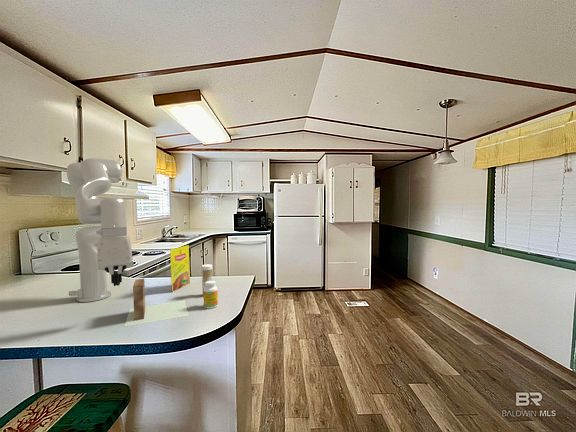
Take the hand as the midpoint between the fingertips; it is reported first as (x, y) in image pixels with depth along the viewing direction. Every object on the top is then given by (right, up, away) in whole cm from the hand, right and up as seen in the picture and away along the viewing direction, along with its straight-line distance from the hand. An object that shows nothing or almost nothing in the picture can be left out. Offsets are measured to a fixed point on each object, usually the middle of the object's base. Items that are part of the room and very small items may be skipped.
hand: (116, 284), depth 97 cm
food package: (+8, -11, +39) cm, 41 cm away
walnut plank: (+6, -12, +4) cm, 14 cm away
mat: (+12, -12, +6) cm, 18 cm away
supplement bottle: (+30, -12, +12) cm, 34 cm away
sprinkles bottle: (+24, -11, +26) cm, 38 cm away
